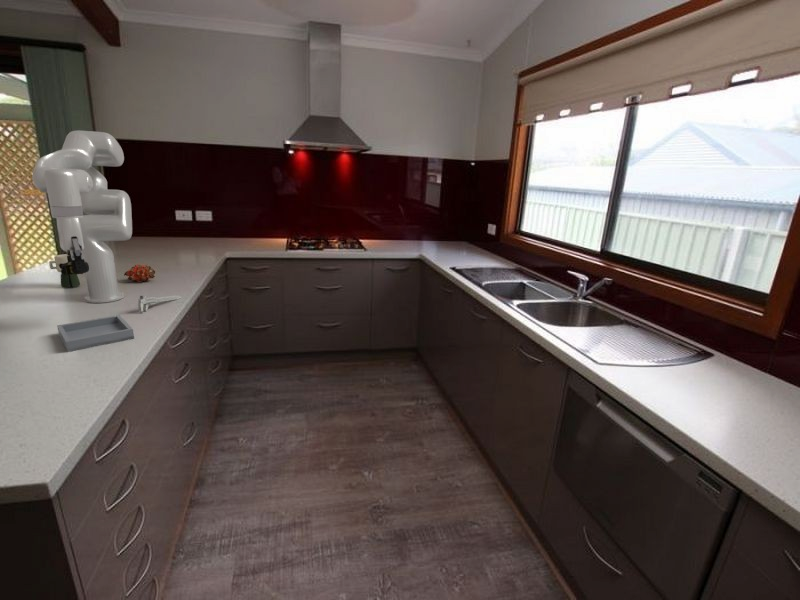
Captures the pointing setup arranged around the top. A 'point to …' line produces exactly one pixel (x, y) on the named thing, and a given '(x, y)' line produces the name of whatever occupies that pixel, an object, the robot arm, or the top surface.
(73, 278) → the character mug
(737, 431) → the top surface
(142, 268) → the dragon fruit
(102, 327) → the parts tray
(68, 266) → the tape measure
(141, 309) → the caliper
